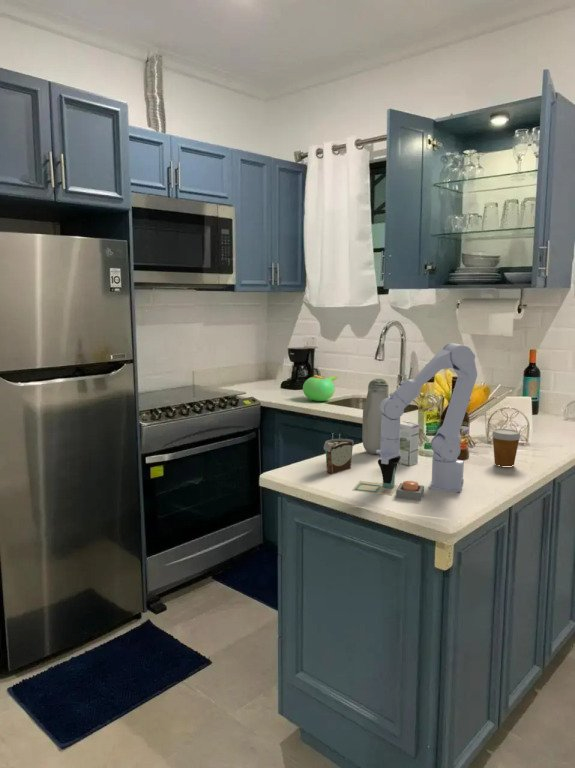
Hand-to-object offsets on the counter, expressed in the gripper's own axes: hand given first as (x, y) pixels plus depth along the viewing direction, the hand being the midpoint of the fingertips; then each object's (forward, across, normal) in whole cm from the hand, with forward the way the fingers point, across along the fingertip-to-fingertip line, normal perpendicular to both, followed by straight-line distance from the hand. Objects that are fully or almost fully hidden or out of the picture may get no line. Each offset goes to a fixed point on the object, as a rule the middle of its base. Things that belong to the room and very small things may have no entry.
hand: (388, 481), depth 182 cm
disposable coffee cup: (+2, -40, +32) cm, 52 cm away
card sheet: (+2, +2, -4) cm, 5 cm away
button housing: (+2, +6, +8) cm, 10 cm away
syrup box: (+2, -30, 0) cm, 30 cm away
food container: (+2, -12, -20) cm, 24 cm away
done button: (+1, +5, +7) cm, 9 cm away
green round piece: (+2, -136, -66) cm, 152 cm away
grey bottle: (+2, -38, -12) cm, 41 cm away
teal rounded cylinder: (+2, 0, 0) cm, 2 cm away
